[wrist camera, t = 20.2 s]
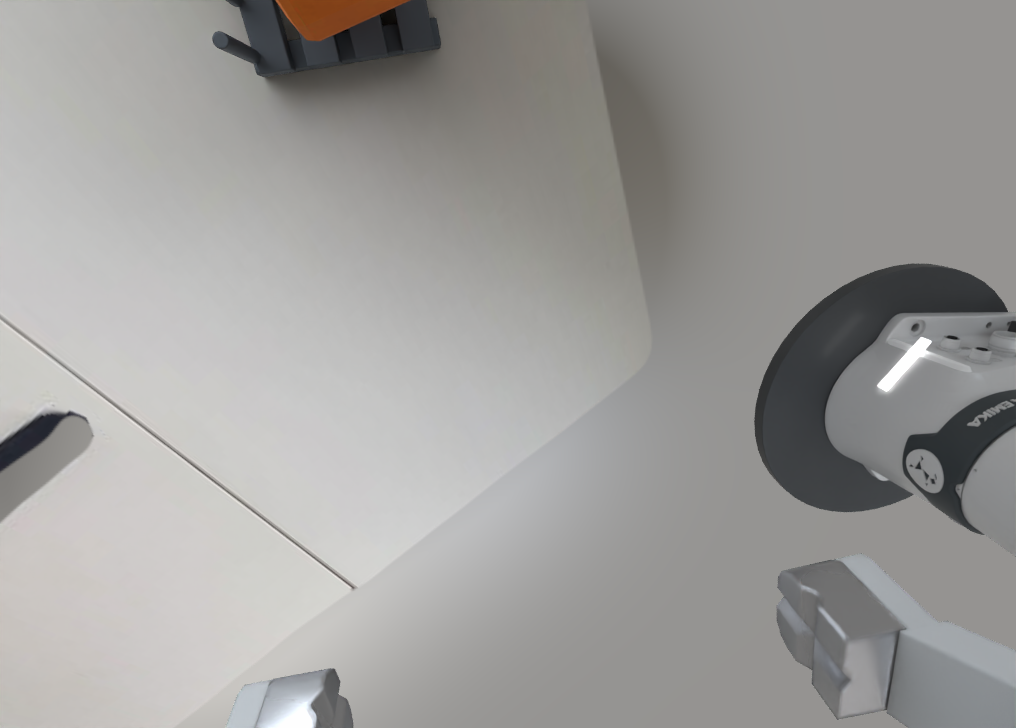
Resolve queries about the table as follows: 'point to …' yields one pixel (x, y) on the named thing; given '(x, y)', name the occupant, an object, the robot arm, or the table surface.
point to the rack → (327, 39)
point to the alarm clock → (332, 14)
